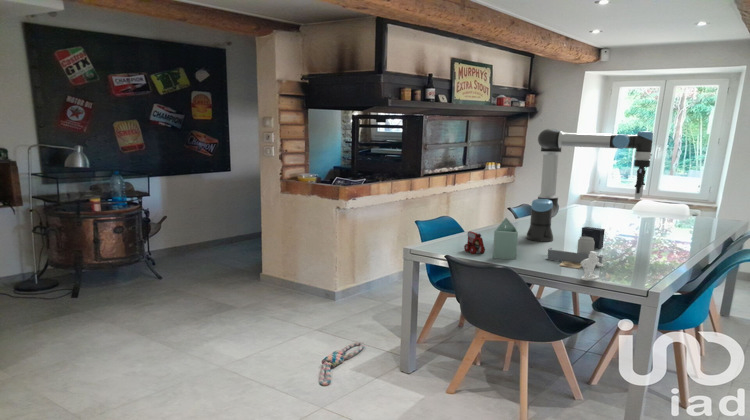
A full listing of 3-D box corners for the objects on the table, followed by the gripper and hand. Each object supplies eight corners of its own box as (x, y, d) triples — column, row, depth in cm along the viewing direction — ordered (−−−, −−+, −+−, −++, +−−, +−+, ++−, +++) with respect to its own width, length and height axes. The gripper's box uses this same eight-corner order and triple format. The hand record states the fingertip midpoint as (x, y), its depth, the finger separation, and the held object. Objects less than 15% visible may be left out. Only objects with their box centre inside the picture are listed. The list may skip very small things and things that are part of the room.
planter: (505, 261, 237) (507, 221, 234) (492, 257, 243) (494, 218, 240) (526, 256, 247) (529, 218, 244) (513, 253, 253) (516, 216, 250)
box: (603, 247, 273) (605, 228, 271) (599, 249, 268) (601, 230, 266) (584, 244, 280) (585, 226, 278) (579, 245, 275) (581, 227, 274)
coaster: (559, 266, 230) (559, 264, 230) (563, 262, 238) (563, 260, 238) (579, 269, 226) (579, 267, 226) (582, 264, 233) (583, 263, 233)
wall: (547, 259, 243) (548, 249, 242) (549, 257, 246) (549, 247, 245) (600, 267, 230) (601, 256, 229) (601, 265, 234) (602, 255, 233)
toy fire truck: (476, 255, 247) (477, 235, 245) (462, 250, 258) (463, 230, 257) (487, 254, 250) (488, 234, 248) (473, 249, 261) (474, 230, 259)
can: (573, 259, 244) (575, 235, 242) (587, 259, 244) (590, 235, 243) (581, 263, 236) (583, 239, 235) (595, 263, 237) (598, 239, 235)
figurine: (590, 282, 206) (592, 254, 204) (577, 277, 212) (579, 250, 210) (604, 279, 210) (606, 252, 209) (591, 275, 216) (593, 248, 214)
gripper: (648, 160, 256) (644, 200, 259) (651, 159, 277) (647, 196, 280) (632, 160, 260) (628, 199, 263) (636, 158, 281) (632, 195, 284)
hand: (638, 198), depth 272 cm, fingers open, 13 cm apart
